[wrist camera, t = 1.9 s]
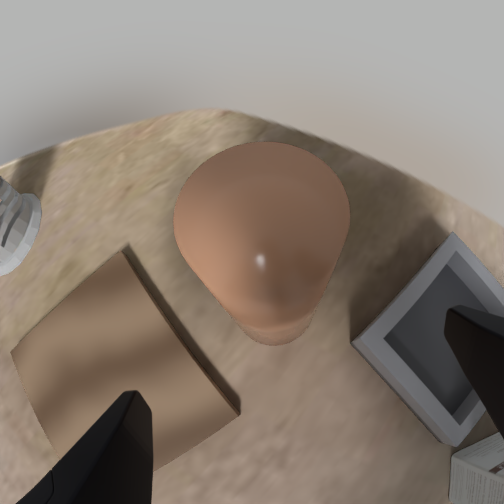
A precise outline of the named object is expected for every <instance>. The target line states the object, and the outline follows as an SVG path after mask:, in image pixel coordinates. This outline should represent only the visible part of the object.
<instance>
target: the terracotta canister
mask: <svg viewBox="0 0 504 504" xmlns="http://www.w3.org/2000/svg"><path fill="white" fill-rule="evenodd" d="M173 226H174V235H175V238H176V242H177V245H178V247H179V249H180V252H181V254H182V255H183V257H184V258H185V260H186V262H187V263H188V264H189V266H190V267H191V268H192V269H193V271H194V272H195V273H196V274H197V276H198V277H199V278H200V279H201V281H202V282H203V283H204V284H205V286H206V287H207V288H208V289H209V290H210V292H211V293H212V294H213V295H214V297H215V298H216V299H217V300H218V301H219V303H220V304H221V305H222V306H223V307H224V309H225V310H226V311H227V312H228V313H229V315H230V316H231V317H232V318H233V319H234V321H235V322H236V323H237V324H238V325H239V326H240V328H241V329H242V330H243V331H244V332H245V333H246V334H247V335H248V336H249V337H250V338H251V339H253V340H255V341H256V342H259V343H261V344H265V345H273V346H277V345H283V344H287V343H289V342H292V341H293V340H295V339H297V338H298V337H299V336H301V335H302V334H303V333H304V332H305V330H306V329H307V328H308V326H309V324H310V322H311V320H312V318H313V316H314V313H315V311H316V309H317V307H318V305H319V302H320V300H321V298H322V296H323V293H324V291H325V289H326V287H327V284H328V282H329V280H330V277H331V275H332V273H333V270H334V268H335V266H336V263H337V261H338V258H339V256H340V254H341V251H342V249H343V246H344V244H345V241H346V238H347V235H348V231H349V226H350V206H349V200H348V197H347V193H346V191H345V189H344V187H343V184H342V183H341V181H340V179H339V178H338V176H337V175H336V174H335V172H334V171H333V170H332V169H331V168H330V167H329V166H328V165H327V164H326V163H325V162H324V161H322V160H321V159H320V158H318V157H317V156H315V155H314V154H312V153H310V152H308V151H306V150H304V149H301V148H299V147H296V146H292V145H289V144H284V143H278V142H253V143H246V144H242V145H237V146H234V147H231V148H229V149H226V150H224V151H222V152H220V153H218V154H216V155H214V156H213V157H211V158H209V159H208V160H207V161H205V162H204V163H203V164H201V165H200V166H199V167H198V168H197V169H196V170H195V171H194V172H193V173H192V175H191V176H190V177H189V178H188V180H187V181H186V183H185V184H184V186H183V187H182V189H181V191H180V194H179V196H178V199H177V202H176V205H175V210H174V219H173Z"/></svg>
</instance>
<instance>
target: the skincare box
mask: <svg viewBox="0 0 504 504" xmlns="http://www.w3.org/2000/svg"><path fill="white" fill-rule="evenodd" d="M449 501H451V502H452V503H453V504H504V440H503V438H502V436H501V434H500V432H498V433H496V434H494V435H492V436H489V437H487V438H485V439H483V440H481V441H479V442H477V443H475V444H473V445H471V446H468V447H466V448H464V449H462V450H460V451H458V452H456V453H454V454H453V455H452V457H451V471H450V490H449Z"/></svg>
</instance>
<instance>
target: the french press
mask: <svg viewBox="0 0 504 504" xmlns="http://www.w3.org/2000/svg"><path fill="white" fill-rule="evenodd" d="M0 199H1V200H2V201H1V203H0V276H2V275H5V274H8V273H10V272H11V271H13V270H14V269H15V268H16V267H17V266H18V265H19V264H20V263H21V262H22V261H23V259H24V258H25V256H26V255H27V253H28V252H29V250H30V249H31V247H32V245H33V242H34V240H35V237H36V235H37V233H38V230H39V225H40V220H41V214H42V211H41V205H40V200H39V199H38V198H37V197H36V196H35V195H34V194H30V193H24V194H21V195H20V194H19V193H18V192H17V191H16V190H15V189H14V188H13V187H12V186H11V185H10V184H9V183H7V182H6V181H5V180H4V179H3V178H2V177H1V176H0Z"/></svg>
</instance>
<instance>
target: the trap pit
mask: <svg viewBox="0 0 504 504" xmlns="http://www.w3.org/2000/svg"><path fill="white" fill-rule="evenodd" d="M458 304H460V305H464V306H467V307H471V308H474V309H477V310H481V311H484V312H487V313H491V314H494V315H497V316H501V317H504V289H503V288H502V286H501V285H500V284H499V283H498V281H497V280H496V279H495V278H494V277H493V275H492V274H491V273H490V272H489V271H488V269H487V268H486V267H485V266H484V265H483V264H482V262H481V261H480V260H479V259H478V258H477V257H476V256H475V255H474V253H473V252H472V251H471V250H470V249H469V248H468V247H467V246H466V245H465V244H464V243H463V241H462V240H461V239H460V238H459V237H458V236H457V235H456V234H455V233H454V232H452V233H451V234H450V235H449V236H448V237H447V238H446V239H445V240H444V241H443V242H442V243H441V244H440V245H439V246H438V247H437V249H436V250H435V251H434V252H433V254H432V255H431V256H430V257H429V259H428V260H427V261H426V262H425V263H424V265H423V266H422V267H421V268H420V269H419V271H418V272H417V273H416V274H415V275H414V276H413V278H412V279H411V280H410V281H409V282H408V283H407V284H406V286H405V287H404V288H403V289H402V290H401V291H400V292H399V293H398V294H397V296H396V297H395V298H394V299H393V300H392V301H391V302H390V303H389V304H388V305H387V306H386V307H385V308H384V310H383V311H382V312H381V313H380V314H379V315H378V316H377V317H376V318H375V319H374V320H373V321H372V322H371V323H370V324H369V325H368V326H367V327H366V328H365V329H364V330H363V331H362V332H361V333H360V334H359V335H358V336H357V337H356V338H355V339H354V340H353V341H352V342H351V343H350V344H351V345H352V346H353V347H354V348H355V349H356V350H357V351H358V353H359V354H360V355H361V356H362V357H363V358H364V359H365V360H366V361H367V362H368V364H369V365H370V366H371V367H372V368H373V369H374V370H375V371H376V372H377V373H378V374H379V376H380V377H381V378H382V379H383V380H384V381H385V382H386V383H387V384H388V385H389V387H390V388H391V389H392V390H393V391H394V392H395V393H396V394H397V395H398V397H399V398H400V399H401V400H402V401H403V402H404V403H405V404H406V405H407V406H408V408H409V409H410V410H411V411H412V412H413V413H414V414H415V415H416V416H417V418H418V419H419V420H420V421H421V422H422V423H423V424H424V425H425V426H426V428H427V429H428V430H429V431H430V432H431V433H432V434H433V435H434V436H435V438H436V439H437V440H438V441H439V442H441V443H444V444H448V445H451V446H454V447H458V446H459V444H460V443H461V442H462V441H463V440H464V438H465V437H466V436H467V435H468V433H469V432H470V431H471V430H472V428H473V427H474V426H475V424H476V423H477V422H478V421H479V419H480V418H481V416H482V415H483V414H484V412H485V411H486V408H485V406H484V405H483V403H482V402H481V400H480V398H479V397H478V395H477V393H476V392H475V390H474V389H473V387H472V386H471V384H470V382H469V381H468V379H467V378H466V376H465V374H464V372H463V371H462V369H461V367H460V365H459V363H458V361H457V359H456V357H455V355H454V353H453V352H452V350H451V348H450V346H449V344H448V342H447V341H446V339H445V336H444V325H445V318H446V312H447V310H448V309H449V308H450V307H453V306H455V305H458Z"/></svg>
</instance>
